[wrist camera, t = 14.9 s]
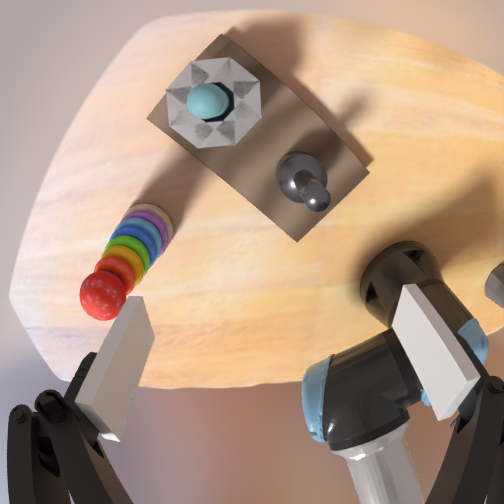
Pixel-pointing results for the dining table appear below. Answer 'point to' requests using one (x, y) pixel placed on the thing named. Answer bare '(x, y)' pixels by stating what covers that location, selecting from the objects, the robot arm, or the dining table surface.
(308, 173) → the stand rod
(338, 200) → the walnut board
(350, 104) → the dining table surface
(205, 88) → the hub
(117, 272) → the stacking toy
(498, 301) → the coffeepot
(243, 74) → the steel ring
